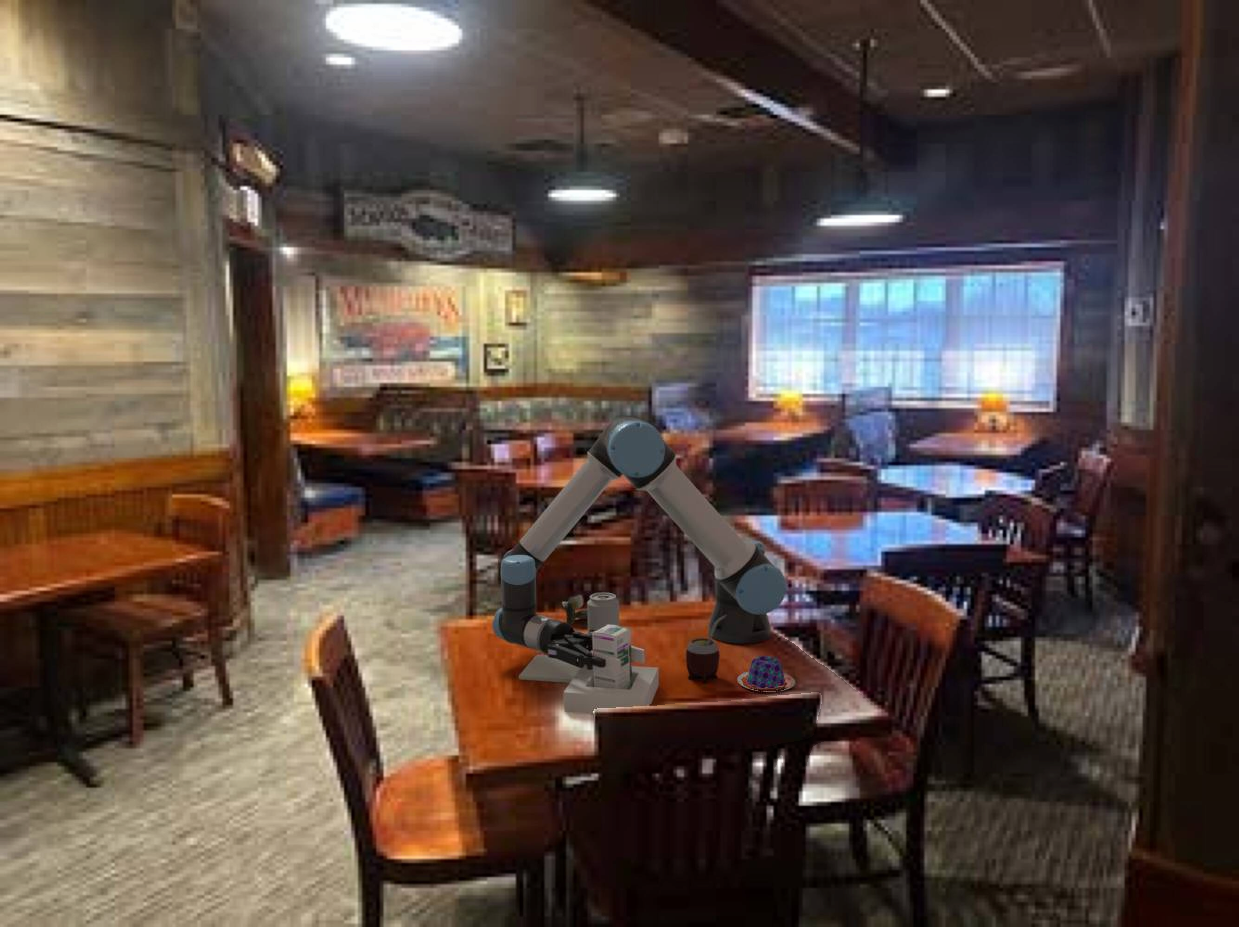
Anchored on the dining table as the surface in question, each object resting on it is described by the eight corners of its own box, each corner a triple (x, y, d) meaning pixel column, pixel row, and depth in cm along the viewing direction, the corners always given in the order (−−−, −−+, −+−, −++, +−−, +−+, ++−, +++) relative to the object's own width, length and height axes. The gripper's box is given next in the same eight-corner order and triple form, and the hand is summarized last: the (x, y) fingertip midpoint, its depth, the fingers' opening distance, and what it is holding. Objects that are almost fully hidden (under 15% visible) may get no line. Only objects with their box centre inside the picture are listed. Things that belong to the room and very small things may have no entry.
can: (620, 639, 216) (620, 591, 214) (617, 650, 209) (617, 600, 207) (590, 638, 217) (589, 590, 215) (585, 649, 210) (585, 599, 208)
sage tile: (592, 661, 202) (592, 657, 202) (577, 683, 189) (577, 679, 189) (536, 657, 204) (536, 654, 204) (518, 679, 192) (518, 675, 192)
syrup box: (617, 706, 177) (616, 635, 175) (593, 700, 180) (591, 630, 178) (632, 696, 182) (632, 627, 180) (608, 690, 185) (607, 622, 183)
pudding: (806, 684, 188) (807, 660, 187) (770, 700, 180) (770, 675, 179) (762, 669, 197) (762, 646, 196) (725, 683, 189) (725, 659, 188)
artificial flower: (505, 633, 226) (507, 593, 228) (591, 634, 233) (592, 595, 234) (511, 634, 218) (513, 592, 219) (600, 635, 224) (601, 595, 226)
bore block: (658, 686, 187) (658, 667, 187) (644, 717, 172) (644, 697, 171) (584, 680, 190) (583, 662, 190) (564, 711, 175) (563, 692, 174)
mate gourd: (683, 672, 194) (683, 605, 192) (719, 671, 195) (719, 604, 193) (689, 685, 187) (689, 616, 185) (726, 684, 188) (727, 615, 186)
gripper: (582, 641, 199) (662, 665, 184) (516, 665, 185) (598, 694, 170) (581, 608, 198) (662, 630, 183) (515, 630, 184) (597, 656, 169)
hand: (631, 661), depth 176 cm, fingers closed on syrup box, 6 cm apart
